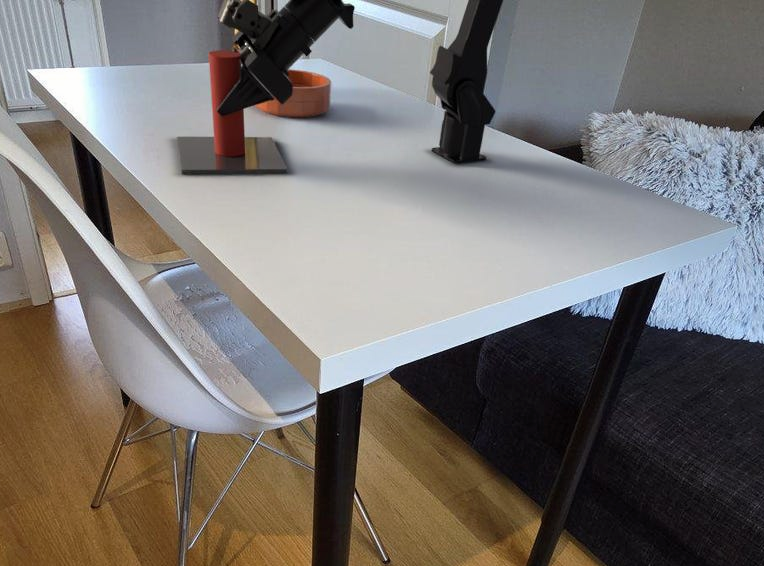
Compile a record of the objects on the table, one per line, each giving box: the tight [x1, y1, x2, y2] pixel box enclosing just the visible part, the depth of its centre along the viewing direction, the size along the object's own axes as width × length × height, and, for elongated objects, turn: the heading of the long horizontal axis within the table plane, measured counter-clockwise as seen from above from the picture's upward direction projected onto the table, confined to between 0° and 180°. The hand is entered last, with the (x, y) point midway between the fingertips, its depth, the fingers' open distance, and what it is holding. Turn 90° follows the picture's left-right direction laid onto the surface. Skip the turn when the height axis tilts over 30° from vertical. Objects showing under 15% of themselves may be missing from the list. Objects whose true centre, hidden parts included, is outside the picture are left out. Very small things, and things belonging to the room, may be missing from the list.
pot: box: [254, 68, 332, 118], centre depth 117 cm, size 14×14×5 cm
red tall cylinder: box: [208, 49, 246, 157], centre depth 91 cm, size 4×4×13 cm
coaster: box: [176, 136, 288, 175], centre depth 95 cm, size 14×14×1 cm
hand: (217, 108), depth 91 cm, fingers closed on red tall cylinder, 4 cm apart
